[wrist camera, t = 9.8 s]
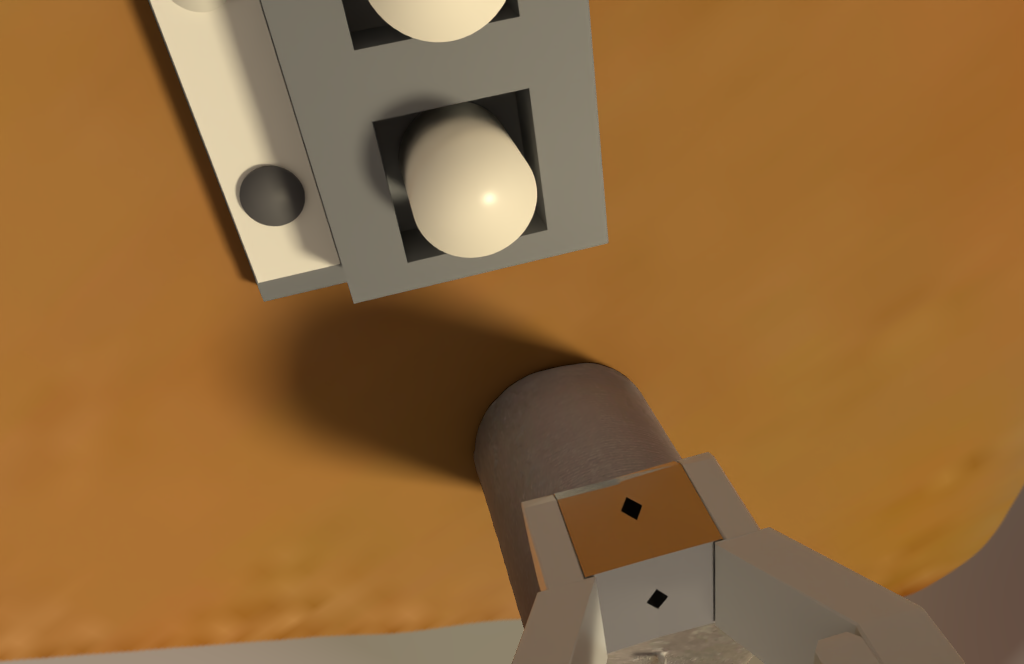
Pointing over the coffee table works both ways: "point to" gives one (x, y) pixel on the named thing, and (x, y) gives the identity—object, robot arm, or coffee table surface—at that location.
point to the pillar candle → (577, 478)
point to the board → (379, 131)
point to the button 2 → (437, 17)
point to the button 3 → (466, 180)
